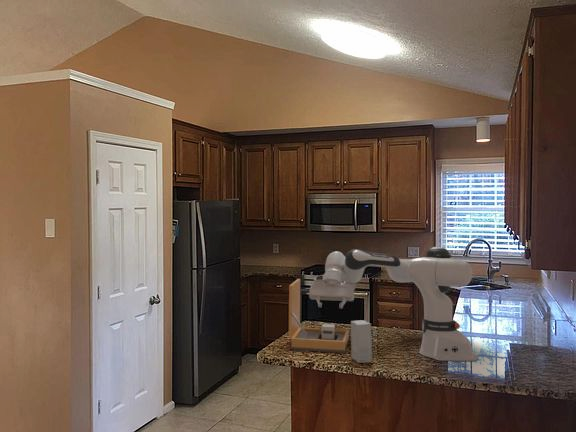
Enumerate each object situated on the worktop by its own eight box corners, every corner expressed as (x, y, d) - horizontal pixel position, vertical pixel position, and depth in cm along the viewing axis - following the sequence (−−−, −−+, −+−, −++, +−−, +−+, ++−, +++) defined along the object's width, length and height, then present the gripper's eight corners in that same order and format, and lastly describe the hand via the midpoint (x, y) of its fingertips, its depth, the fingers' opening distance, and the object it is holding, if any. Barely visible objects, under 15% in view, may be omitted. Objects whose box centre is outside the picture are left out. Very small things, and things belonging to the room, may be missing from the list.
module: (334, 341, 223) (334, 324, 223) (333, 344, 218) (333, 327, 218) (323, 340, 224) (323, 323, 224) (321, 344, 219) (321, 326, 219)
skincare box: (372, 362, 197) (372, 324, 197) (357, 363, 196) (357, 324, 196) (364, 356, 205) (364, 319, 205) (349, 357, 204) (350, 319, 204)
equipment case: (348, 340, 230) (349, 280, 229) (344, 352, 210) (345, 287, 209) (297, 337, 234) (297, 278, 233) (288, 349, 214) (289, 285, 214)
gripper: (355, 286, 238) (354, 312, 228) (312, 285, 242) (308, 310, 232) (355, 278, 233) (353, 304, 224) (310, 276, 237) (307, 302, 228)
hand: (330, 307), depth 228 cm, fingers open, 8 cm apart
